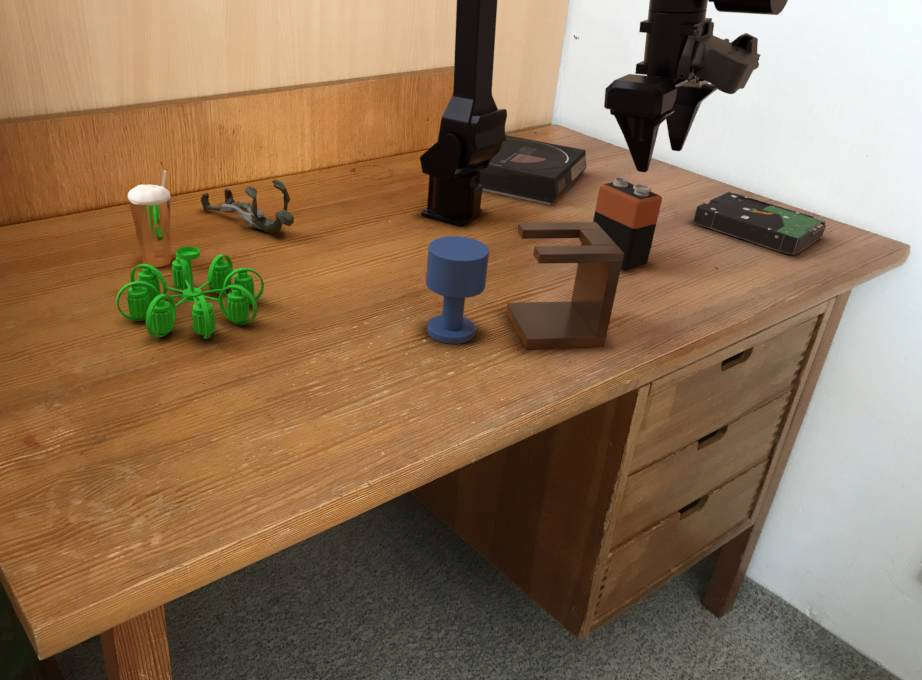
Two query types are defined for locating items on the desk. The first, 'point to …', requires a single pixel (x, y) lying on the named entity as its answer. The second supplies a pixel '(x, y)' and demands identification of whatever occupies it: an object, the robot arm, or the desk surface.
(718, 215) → the disk drive
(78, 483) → the desk surface
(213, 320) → the chandelier
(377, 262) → the desk surface
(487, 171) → the portable cd player
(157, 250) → the milkshake
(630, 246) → the battery
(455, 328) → the peg
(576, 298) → the brown slotted stand
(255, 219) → the zombie figurine
